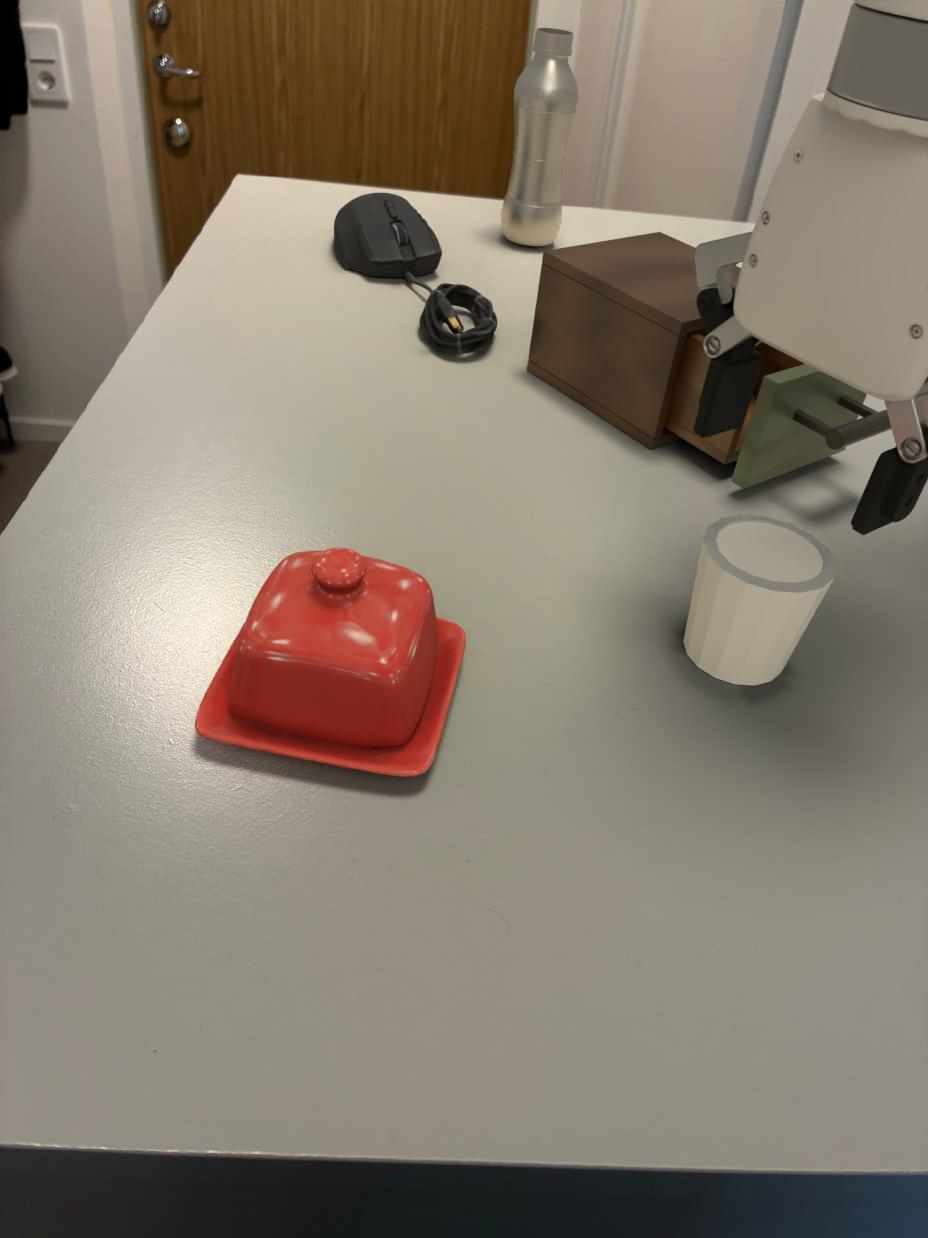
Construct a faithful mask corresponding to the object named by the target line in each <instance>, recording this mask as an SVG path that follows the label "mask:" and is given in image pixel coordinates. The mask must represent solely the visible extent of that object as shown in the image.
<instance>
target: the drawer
mask: <svg viewBox="0 0 928 1238" xmlns="http://www.w3.org/2000/svg"><path fill="white" fill-rule="evenodd" d="M706 336H707V334H706V331H705V329H701V330H697V331H693V332H689V333H687V337H686V341H685V345H684V349H683V353H682V357H681V361H680V365H679V369H678V373H677V377H676V381H675V385H674V389H673V393H672V397H671V401H670V405H669V409H668V413H667V417H666V421H665V425H664V427H665V428H666V429H668V430H669V431H671V432H673V433H674V434H676V435H678V436H679V437H681V438H682V439H681V440H684V441H685V442H688V443H689V444H690V445H692V446H694V447H696V448H697V449H699V450H700V451H702V452H704V453H705V454H707V455H709V456H710V457H712V458H713V459H715V460H716V461H718V462H720V463H721V464H723V465H728V464H729V463H733V462H736V465H735V467H734V469H733V470H734V471H733V472H732V477H731V479H730V480H731V482H732V483H733V484H735V485H736V486H738V487H739V488H741V489H743V490H745V489H748V488H750V487H753V486H755V485H758V484H761V483H764V482H766V481H768V480H771V479H773V478H776V477H779V476H781V475H784V474H787V473H789V472H792V471H795V470H797V469H799V468H800V469H801V468H802V467H805V466H808V465H811V464H813V463H815V462H818V461H821V460H823V459H826V458H828V457H831V456H833V455H836V454H839V453H841V452H844V451H846V448H847V447H848V446H849V447H850V446H851V445H854V444H857V443H860V442H861V441H864V440H867V439H869V438H872V437H875V436H877V435H881V434H883V433H885V432H888V431H890V430H891V431H892V428H891V424H890V420H889V416H888V413H887V409H883V410H880V411H878V410H875V409H873V408H871V407H870V406H868V405H865V404H864V403H865V400H866V397H867V395H868V394H866V393H864V392H862V391H860V390H858V389H856V388H854V387H851V386H849V385H847V384H845V383H843V382H841V381H839V380H837V379H835V378H833V377H831V376H829V375H827V374H825V373H823V372H821V371H819V370H817V369H815V368H813V367H811V366H809V365H807V364H805V363H803V362H801V361H799V360H797V359H795V358H793V357H791V356H789V355H787V354H785V353H783V352H781V351H779V350H777V349H776V348H774V347H772V346H770V345H768V344H766V343H764V342H762V343H760V344H759V345H757V346H756V347H755V350H756V351H758V352H760V353H761V354H763V355H762V359H761V360H762V365H761V368H760V372H759V375H758V378H757V381H756V384H755V387H754V390H753V394H752V397H751V400H750V403H749V406H748V409H747V412H746V416H745V419H744V422H743V424H742V425H741V426H740V427H739V428H736V429H732V430H729V431H726V432H723V433H720V434H716V435H713V436H710V437H705V438H701V437H700V436H698V435H696V434H695V433H694V432H693V428H694V424H695V421H696V417H697V414H698V410H699V400H700V396H701V393H702V389H703V385H704V382H705V378H706V375H707V371H708V368H709V364H710V361H711V357H709V356H708V355H707V354H706V353H705V351H704V347H703V343H704V339H705V337H706ZM859 416H860V417H861V418H859ZM858 418H859V419H858Z"/></svg>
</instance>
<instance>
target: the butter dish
mask: <svg viewBox="0 0 928 1238" xmlns="http://www.w3.org/2000/svg"><path fill="white" fill-rule="evenodd" d="M436 613H437V612H436V606H435V599H434V593H433V591H432V587H431V585H430V583H429V582H428V581H427V579H426V578H425V577H424V576H422V574H420V573H418V572H417V571H415V570H413V569H411V568H408V567H405V566H403V565H400V564H397V563H393V562H390V561H386V560H383V559H379V558H375V557H371V556H370V557H369V556H366V555H362V554H360V553H359V552H358V551H356V550H353V549H352V548H348V547H347V548H346V547H332V548H327V549H325V550H304V551H297V552H294V553H291V554H289V555H287V556H286V557H284V558H283V559H282V560H280V562H278V564H276V566H275V567H274V568H273V570H272V571H271V573H270V574H269V575H268V577H267V578H266V579H265V580H264V583H263V584H262V586H261V588H260V589H259V591H258V593H257V594H256V596H255V598H254V600H253V602H252V604H251V606H250V609H249V611H248V614H247V616H246V619H245V621H244V622H243V624H242V626H241V628H240V629H239V631H238V633H237V634H236V637H235V638H234V640H233V641H232V643H231V645H230V646H229V649H228V650H227V652H226V654H225V656H224V657H223V660H222V661H221V663H220V665H219V667H218V668H217V670H216V672H215V674H214V676H213V678H212V679H211V681H210V683H209V685H208V688H207V689H206V691H205V693H204V695H203V697H202V699H201V702H200V704H199V706H198V710H197V712H196V715H195V721H194V728H195V731H196V733H197V734H198V735H199V736H201V737H203V738H205V739H207V740H211V741H214V742H218V743H222V744H227V745H230V746H233V747H240V748H246V749H250V750H256V751H259V752H265V753H270V754H274V755H280V756H284V757H285V756H286V757H289V758H293V759H299V760H305V761H309V762H316V763H320V764H325V765H331V766H335V767H340V768H345V769H350V770H358V771H362V772H367V773H373V774H378V775H386V776H391V777H402V778H411V777H413V778H414V777H418V776H420V775H424V774H425V773H427V772H428V771H429V769H430V768H431V766H432V765H433V762H434V760H435V758H436V755H437V752H438V748H439V746H440V742H441V738H442V734H443V732H444V728H445V723H446V721H447V717H448V713H449V712H450V711H449V710H450V707H451V703H452V699H453V696H454V692H455V688H456V683H457V681H458V677H459V674H460V673H459V672H460V670H461V666H462V663H463V659H464V654H465V651H466V643H467V637H466V633H465V629H464V628H463V627H462V626H460V625H459V624H457V623H456V622H454V621H450V620H448V619H445V618H443V617H442V618H441V617H438V616H437V614H436Z"/></svg>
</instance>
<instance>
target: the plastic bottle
mask: <svg viewBox="0 0 928 1238" xmlns="http://www.w3.org/2000/svg"><path fill="white" fill-rule="evenodd" d="M573 41H574V32H572V31H569V30H565V29H560V28H555V27H554V28H553V27H538V28H536V29H535V34H534V42H533V44H532V49H531V51H533V52H534V55H533V58H532V60H531V61H530V62H529V63H528V64H527V66H525V68H524V69H523V71H521V73H520V75H519V76H518V78H517V80H516V83H515V85H514V89H513V113H514V114H513V115H514V117H513V118H514V119H513V120H514V121H513V123H514V132H513V150H512V162H511V166H510V167H511V168H510V173H509V177H508V178H509V180H508V184H507V190H506V194H505V195H504V199H503V203H502V207H501V211H500V227H501V231H502V234H503V235H504V237H505V238H506V239H507V240H509V241H510V242H513V243H516V244H518V245H523V246H529V247H545V246H550V245H551V244H552V243H553V242H554V241H555V240H556V239H557V238H558V236H559V234H560V233H559V232H560V229H561V227H562V223H563V221H562V217H563V215H562V214H563V207H562V200H561V199H562V188H563V187H562V186H563V173H564V172H563V171H564V164H565V158H566V157H565V154H566V152H567V147H568V142H569V137H570V133H571V129H572V125H573V122H574V119H575V115H576V111H577V109H576V108H577V107H578V102H579V98H580V97H579V87H578V83H577V81H576V78H575V75H574V71H572V68H571V66H570V64H569V57H571V56H572V55H573Z"/></svg>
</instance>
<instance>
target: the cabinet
mask: <svg viewBox="0 0 928 1238" xmlns="http://www.w3.org/2000/svg"><path fill="white" fill-rule="evenodd" d="M695 249H696V247H695V246H692V245H690V244H688V243H686V242H684V241H682V240H680V239H677V238H674V237H673V236H670V235H668V234H666V233H664V232H661V231H655V232H650V233H644V234H638V235H631V236H625V237H619V238H613V239H608V240H602V241H595V242H590V243H584V244H577V245H572V246H571V245H570V246H565V247H558V248H554V249H548V250H543V251H542V259H541V267H540V272H539V281H538V288H537V295H536V302H535V307H534V308H535V309H534V315H533V322H532V329H531V338H530V342H529V343H530V344H529V349H528V350H529V352H528V357H527V359H528V360H527V365H526V370H527V371H528V372H530V373H532V375H535V376H536V377H537V378H539V379H541V380H542V381H544V382H545V383H547V384H549V385H550V386H552V387H553V388H555V389H556V390H558V391H559V392H561V393H563V394H564V395H566V396H567V397H569V398H570V399H572V400H573V401H575V402H577V403H578V404H579V405H581V406H582V407H584V408H586V409H587V410H589V411H591V412H592V413H594V415H595V414H596V415H597V416H599V417H600V418H601V419H602V420H605V421H606V422H607V423H609V424H611V425H612V426H613V427H615V428H617V429H619V430H620V431H622V432H623V433H624V434H626V435H628V436H630V437H631V438H633V439H634V440H636V441H638V442H639V443H640V444H642V445H644V446H645V447H647V448H649V449H650V450H653V449H656V448H659V447H662V446H666V445H668V444H669V445H670V444H672V443H675V442H679V441H681V440H683V439H682V438H681V437H679V436H678V435H676V434H674V433H673V432H671V431H669V430H668V429H666V428H665V427H664V425H665V421H666V417H667V413H668V409H669V405H670V401H671V397H672V393H673V389H674V385H675V381H676V377H677V373H678V369H679V365H680V361H681V357H682V353H683V349H684V345H685V341H686V337H687V333H689V332H693V331H697V330H701V329H705V328H704V325H703V322H702V319H701V317H700V314H699V311H698V308H697V304H696V300H697V296H698V294H699V292H700V287H698V285H697V276H696V266H695V256H694V255H695ZM740 271H741V267H739V266H737V265H736V266H735V267H734V269H733V281H731V284H732V286H733V287H734V288H735V290H736V287H737V283H738V278H739V274H740Z"/></svg>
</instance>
